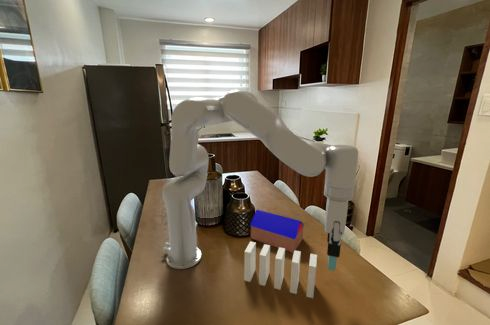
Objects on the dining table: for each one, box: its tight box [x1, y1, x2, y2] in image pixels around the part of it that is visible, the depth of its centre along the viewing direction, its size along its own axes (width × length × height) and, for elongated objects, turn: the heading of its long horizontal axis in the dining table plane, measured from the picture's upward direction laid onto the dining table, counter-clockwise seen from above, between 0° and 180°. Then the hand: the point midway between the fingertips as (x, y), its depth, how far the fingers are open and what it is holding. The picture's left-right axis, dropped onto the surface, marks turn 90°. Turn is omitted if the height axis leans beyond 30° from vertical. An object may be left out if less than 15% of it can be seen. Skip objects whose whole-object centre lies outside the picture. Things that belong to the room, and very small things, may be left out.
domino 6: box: [327, 230, 338, 272], centre depth 68 cm, size 2×6×11 cm, turn 161°
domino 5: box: [306, 253, 318, 299], centre depth 72 cm, size 2×6×11 cm, turn 161°
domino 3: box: [273, 247, 286, 291], centre depth 76 cm, size 2×6×11 cm, turn 161°
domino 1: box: [243, 241, 257, 283], centre depth 79 cm, size 2×6×11 cm, turn 161°
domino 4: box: [289, 249, 302, 295], centre depth 74 cm, size 2×6×11 cm, turn 161°
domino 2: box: [258, 243, 271, 287], centre depth 77 cm, size 2×6×11 cm, turn 161°
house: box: [249, 209, 305, 254], centre depth 100 cm, size 12×20×12 cm, turn 59°
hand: (333, 248), depth 68 cm, fingers closed on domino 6, 5 cm apart
